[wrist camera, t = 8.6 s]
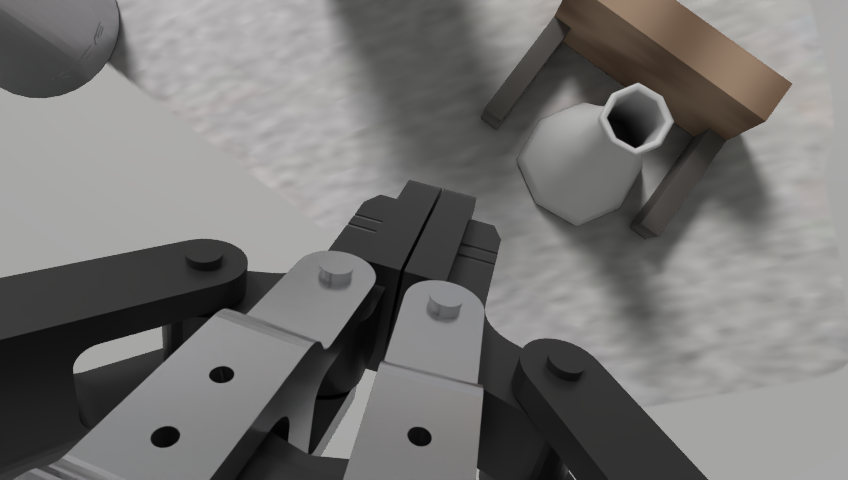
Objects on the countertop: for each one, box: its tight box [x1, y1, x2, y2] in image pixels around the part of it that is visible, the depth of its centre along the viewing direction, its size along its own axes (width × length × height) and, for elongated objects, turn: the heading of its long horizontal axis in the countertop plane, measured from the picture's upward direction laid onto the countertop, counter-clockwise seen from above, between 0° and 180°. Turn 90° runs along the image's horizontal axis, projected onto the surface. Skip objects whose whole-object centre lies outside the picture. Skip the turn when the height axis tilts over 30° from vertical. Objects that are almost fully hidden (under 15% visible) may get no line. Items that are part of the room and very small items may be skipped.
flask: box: [517, 83, 674, 226], centre depth 33 cm, size 7×7×10 cm
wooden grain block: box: [481, 0, 792, 239], centre depth 35 cm, size 12×10×6 cm
